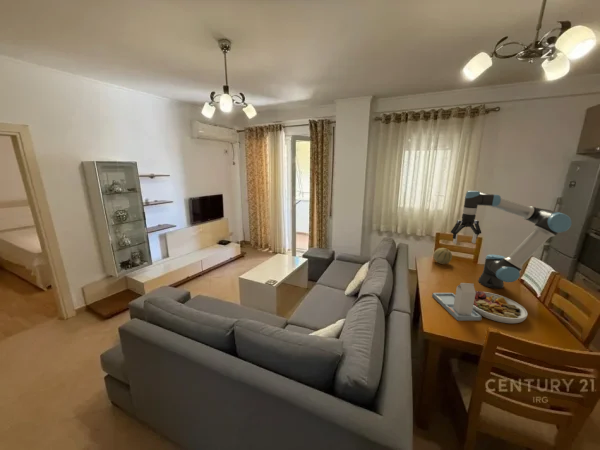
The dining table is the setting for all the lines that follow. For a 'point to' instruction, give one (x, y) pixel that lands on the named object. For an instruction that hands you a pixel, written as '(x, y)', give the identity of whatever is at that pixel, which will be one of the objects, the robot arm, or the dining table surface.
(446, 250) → the cantaloupe
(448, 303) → the divided tray
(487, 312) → the plate of food
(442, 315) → the dining table surface
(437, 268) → the dining table surface
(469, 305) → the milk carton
